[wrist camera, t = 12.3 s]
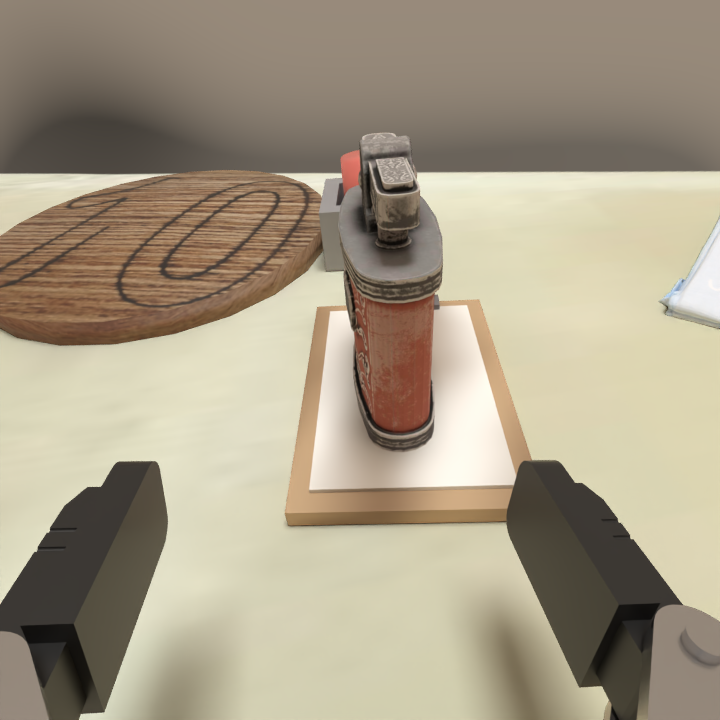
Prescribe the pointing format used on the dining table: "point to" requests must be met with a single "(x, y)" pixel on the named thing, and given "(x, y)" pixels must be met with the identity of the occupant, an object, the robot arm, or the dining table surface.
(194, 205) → the trivet
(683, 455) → the dining table surface
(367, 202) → the lighter
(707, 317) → the folded patterned cloth
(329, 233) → the button box
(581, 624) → the robot arm
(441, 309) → the clipboard
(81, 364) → the dining table surface
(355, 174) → the button
